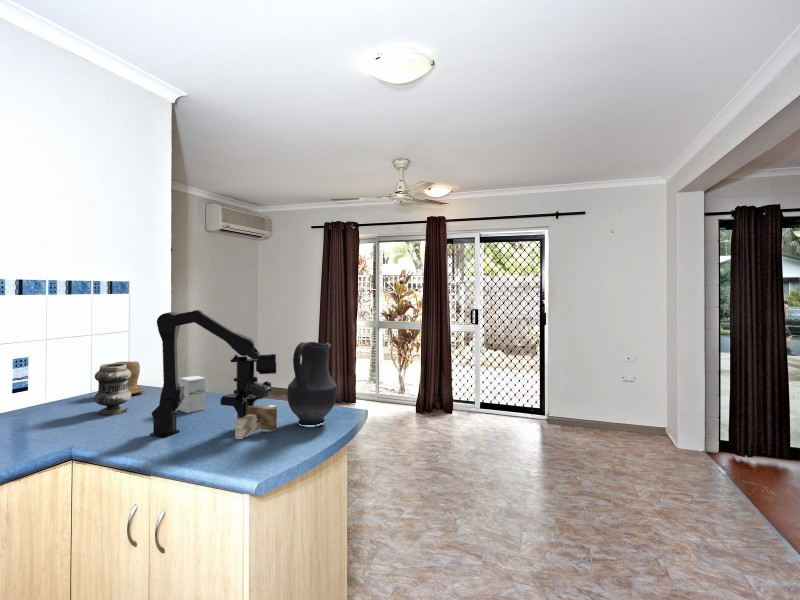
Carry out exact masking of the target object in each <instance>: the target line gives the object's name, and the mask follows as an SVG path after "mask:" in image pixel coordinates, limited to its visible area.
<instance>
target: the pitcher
mask: <svg viewBox="0 0 800 600" xmlns="http://www.w3.org/2000/svg"><path fill="white" fill-rule="evenodd" d="M330 348H331V344H330V343H329V342H326V343H320V342H318V341H317V342H316V341H308V342H307V341H306V342H304V341H303V342H302V341H301V342H299V343H298V344H297V345H296V347H295V349H294V352H293V357H292V362H293V370H294V376H295V377H294V378H293V379H292V380H291V381H290V383H289V384H288V385H287V392H286V393H287V394H286V395H287V404H288V407H289V408H290V410H291V412H292V413H293V414H294V416H295V415H296V417H297V418H298V419H299V420H298V421H297V424H298V423H299V424H301V425H317V424H320V423H323V422H324V421H326V419H325V417H326V416H327V415H328V414H329V413H330V412H331V411H332V409H333V408H334V406H335V404H336V402H337V397H338V385H337V383H336V382H335V381H334V380H333V379H332V378H333V377H332V376H331V373H330V371H329V366H328V352H329V349H330Z"/></svg>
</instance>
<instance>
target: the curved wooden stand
mask: <svg viewBox="0 0 800 600" xmlns="http://www.w3.org/2000/svg"><path fill="white" fill-rule="evenodd" d="M114 363H124V364H126V367H127V369H128V370H130V372H131V376H130V378H128V391H130V393H131V396H132V395H135V394H139V393H143V392H145V391H146V389H145V388H144V387H140V386H138V381H139V377H140V373H141V367H140V362H139V361H136V360H134V361H129V360H128V361H116V362H114Z"/></svg>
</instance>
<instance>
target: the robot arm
mask: <svg viewBox="0 0 800 600" xmlns="http://www.w3.org/2000/svg"><path fill="white" fill-rule="evenodd" d="M192 323H194V324H196V325H198V326H199V327H201V328H203V329H205V330H206V331H208V332H209V333H211V334H213V335H215V336H216V337H217V338H219V339H221V340H222V341H223V342H225V343H226V344H228V346H229V347H231V349H233V350H234V352H236V353H237V354H235V355H234V356H233V357H232V358H231V360H230V363H236V376H235V378H234V377H233V382H235V384H236V386H235V387H236V388H235V389H234V390H233V393H228V394H224V395H223V396H221V398H219V399H220V400H219V401H220V406H226V407H228V406H229V407H233V408H234V409H235V412H236V413H238V415H239V417H240V418H242V417H244V416H245V415H246V406H247V405H253V406H255V403H256V402H257V401H259V400H263V399H264V398H267V397H268V396H269V393H270V392H272V382H271V381H269V380H266V381H264V382H259V380H258V377H257V376H255V371H256V372H257V373H259V375H276V374H277V354H276V353H270V354H261V353H260V351H259V350H258V349H257V348H256V347H255V346H256V345H255V340H253V339H252V338H251V337H249V336H246V335H244V334H241V333H238V332H235V331H233V330H231V329H229V328H228V327H226V326H225V325H223V324H222V323H220V322H218V321H216V320H215V319H213V318H212V317H211V316H209V315H207V314H206V313H204V312H203V311H202V310H200V309H195V310H192V311H188V312H181V313H177V312H174V311H169V312H165V313H164V312H163V313H162V314H160V315H158V318H157V319H156V325H157V326H156V327H157V330H158V334H159V336H160V339H161V341H162V371H163V372H162V373H163V374H162V375H163V377H162V378H163V384H162V385H163V386H162V389H161V392H160V398H159V404H158V405H157V407H156V408H155V409H153V411H151V413H150V414H151V417H152V419H153V420H152V422H153V425H152V427H153V428H152V429H153V432H151V433H149V436H151V435H153V437H159V436H160V437H161V438H168V437H169V436H172V435H175V434H176V433H177V434H178V433H179V432H180V429H177V416H176V415H177V413H176V410H177V409H179V406H180V404H181V403H182V401H183V399H184V398H185V396H184V386H181V387H180V385H179V375H178V345H177V343H178V337H179V336H178V335H179V333H180V328H181V327H180V326H183V325H184V326H185V325H188V324H192ZM239 355H240V356H239Z"/></svg>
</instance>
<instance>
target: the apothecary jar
mask: <svg viewBox="0 0 800 600" xmlns="http://www.w3.org/2000/svg"><path fill="white" fill-rule="evenodd" d="M130 376H131V372H130V370H128V369H127V367H126V364H124V363H115V362H112V363H111V362H110V363H104V364H100V365H99V370H98V371H96V372H95V374H94V379H95V381H97V382H98V390H97V393H96V394H95V395H94V397H93V401H94V402H95V403H96V404H98V405H100V406H105V407H103V408H102V409H99V410H98V411H97V414H98V415H100V414H114V415H117V414H116V413H120V414H122V413H121V412H123V411H126V412H128V411H127V410H129V408H128V407H125V406H123V404H126V402H128V401H129V400H131V398H132V395H131V393H130V391H128V378H130ZM123 413H124V412H123Z"/></svg>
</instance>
